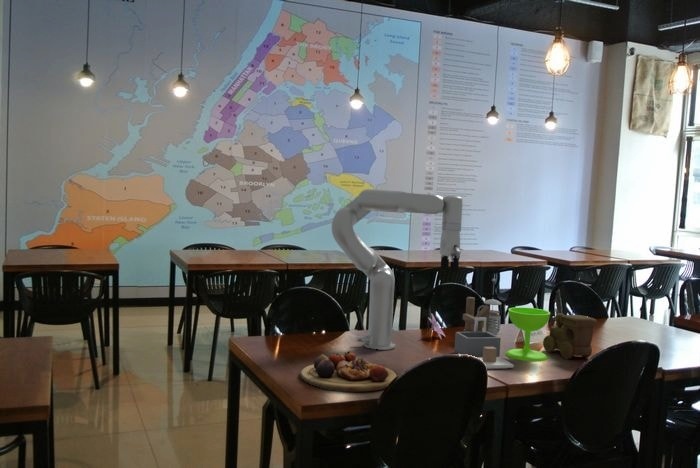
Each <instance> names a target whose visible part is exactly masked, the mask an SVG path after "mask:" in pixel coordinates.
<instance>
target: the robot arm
mask: <svg viewBox="0 0 700 468" xmlns="http://www.w3.org/2000/svg"><path fill="white" fill-rule="evenodd" d="M463 202H464V201H463V197H461V196H458V195H457V196H454V195H446V196H443V195H438V194H427V193H413V192H412V193H411V192H405V191H401V190H400V191H398V190H384V189H370V188H369V189H364V190H362V191H360V192H359V194H358V195H357V196H356V197H355V198H354V199H353V200H351V201H350V202H349V203H347V204H346V205H345V206H344V207H342V208H339V209H338V210H337V211H336V213H335V214H334V216H333V219H332V222H331V233H332V238H333V239H334V241H335V242H336V244H337V245H338V246H339V248H340V249H341V250H342V251H343V252H344V254H345V255H346V256H347V258H348V259H349V260H351V261H350V262H352V263H353V265H354V266H355V268H356V269H358V270H359V271H361V272H363V273H364V274H365V276H366V277H367V278H368V280H369V281H370V282H369V307H368V309H369V310H368V311H369V313H368V328H367V329H368V331H367V333H366V334H365V335H363V336H356V339H355V341H356V342H361V343H363V346H364V347H365V348H367V349H370V348H371V349H370V350H376V349H378V350H379V351H382V350H383V351H386V350H387V351H388V350H393V349H395V348H396V344H395V343H394V342H393V341H392V337H393V319H394V318H393V317H394V315H393V314H394V297H395V295H394V294H395V282H396V281H395V280H396V279H395V274H394V272H393V270H392V269H391V268H390V266H389V264H387V263H386V262H385V260H384V259H383V258H382V257H381V256H380V255H379V253H377V252H376V250H375V249H374V248H372V247H370V246H367V244H366V243H365V242H364V241H363V240H362V239H361V238H360V237H359V235H358V234H357V233H356V231H355V230H354V226H355V225H356V224H357V223H359V222H360V221H361V220H362V219H363V218H365V217H366V216H367V215H369V214H370V213H371V212H387V213H396V214H398V213H401V214H402V213H403V214H405V213H410V214H413V213H414V214H426V215H427V214H429V215H437V214H442V221H441V235H440V243H439V245H440V246H439V254H440V255H441V256H440V269H442V270H448V269H449V271H450V273H458V272H459V267H460V266H459V264H460V263H459V262H460V258H461V232H462V219H463ZM449 257H450V259H449ZM450 260H451V261H450ZM449 264H450V267H449ZM378 350H377V351H378Z"/></svg>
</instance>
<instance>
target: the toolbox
mask: <svg viewBox="0 0 700 468" xmlns="http://www.w3.org/2000/svg"><path fill="white" fill-rule="evenodd" d="M474 317H475V316H474ZM478 320H483V321H484V327H483V328H482V332H478ZM473 329H474V332H463V331H455V334H454V335H455V336H454V353H456V354H457V353H460V354H468V355H472V356H475V357H483V347H495V348H497V354H496V357H501V356H500V355H501V337H499V336H497V334H492V333H490V332H486V317H475V325H473Z"/></svg>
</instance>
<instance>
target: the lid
mask: <svg viewBox="0 0 700 468" xmlns="http://www.w3.org/2000/svg"><path fill="white" fill-rule="evenodd" d="M496 354H497V348H495V347H483V357H477V358H479V359H481V360H483V362H484V363H485V364H486V367H487V369H486V370H493V369H494V370H495V369H496V370H497V369H509V368H514V367H515V366H514V365H515V364H513V363H511V362H510V361H508V360H506V359H505V358H502V357H501V356H500V357H496Z"/></svg>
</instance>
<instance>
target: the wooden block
mask: <svg viewBox="0 0 700 468" xmlns="http://www.w3.org/2000/svg"><path fill="white" fill-rule="evenodd" d="M475 302H476V297H473V296H467V297H466V302H465V303H466V305H465V314H469V315H471V316H473V317H486V332H488V327H489V325H490V324H489V322H490V321H489V320H490V318H489V311H490V310H491V308H490V305H487V304H484V306H483V307H481V308H480V309H481V310H479V313H478V314H477V313H476V315H475V304H476V303H475ZM482 321H483V320H482ZM464 323H465V325H464V328H463V331H462V332H474V325H473V324H471V323H469V322H467V321H465V320H464ZM482 328H483V327H478V332H482Z"/></svg>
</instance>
